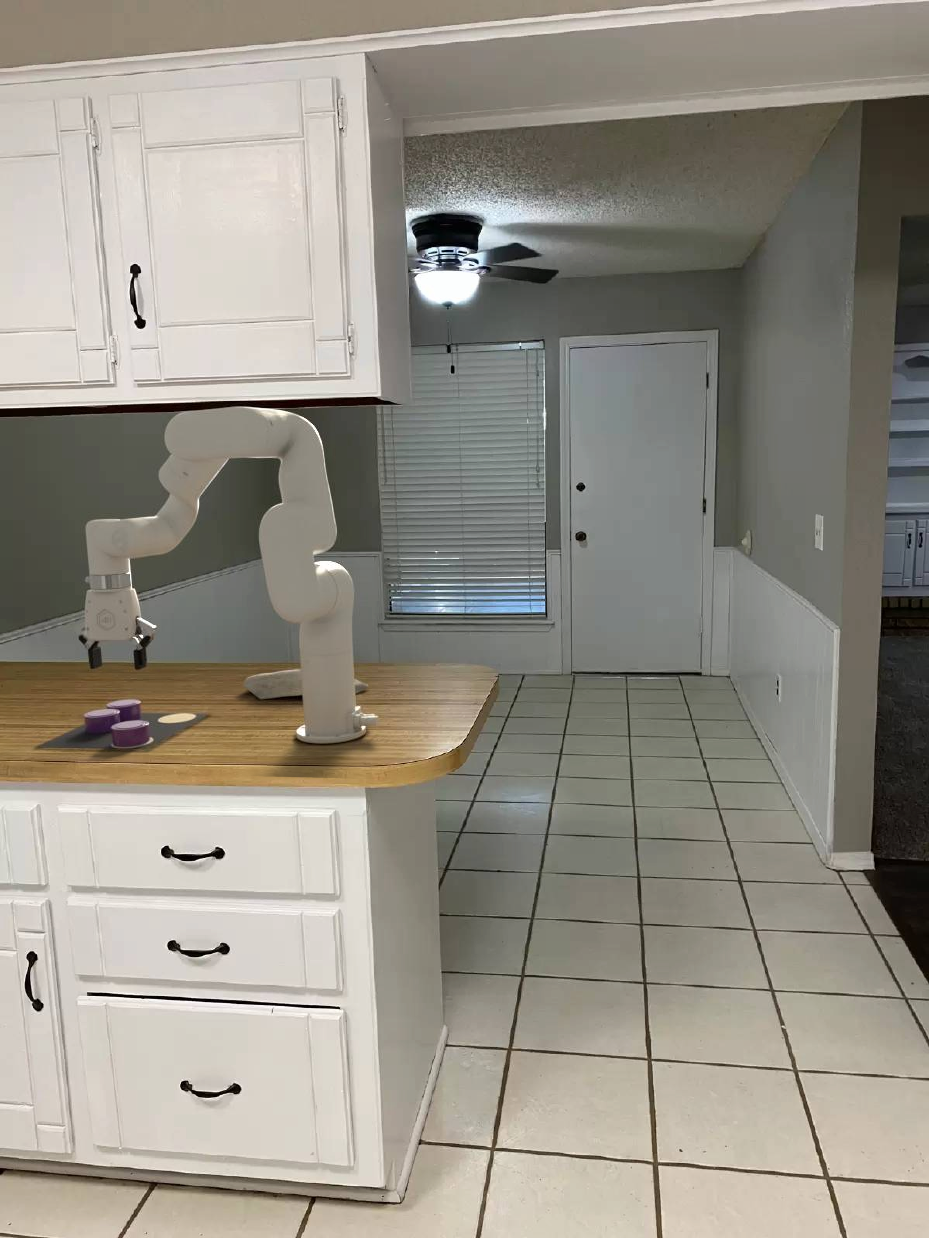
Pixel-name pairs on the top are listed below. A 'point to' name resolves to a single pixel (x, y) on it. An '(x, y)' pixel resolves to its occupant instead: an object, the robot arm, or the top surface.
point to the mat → (159, 730)
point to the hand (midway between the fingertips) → (118, 667)
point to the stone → (282, 684)
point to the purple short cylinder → (130, 733)
